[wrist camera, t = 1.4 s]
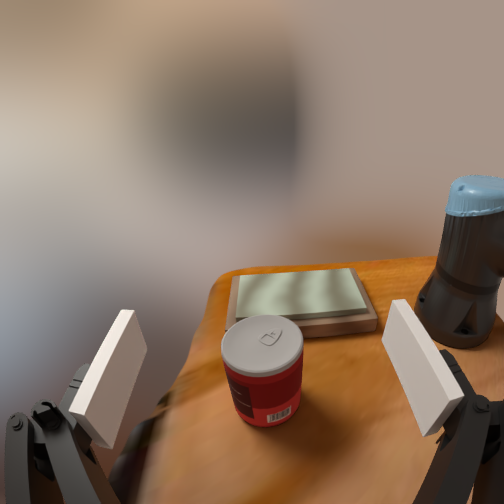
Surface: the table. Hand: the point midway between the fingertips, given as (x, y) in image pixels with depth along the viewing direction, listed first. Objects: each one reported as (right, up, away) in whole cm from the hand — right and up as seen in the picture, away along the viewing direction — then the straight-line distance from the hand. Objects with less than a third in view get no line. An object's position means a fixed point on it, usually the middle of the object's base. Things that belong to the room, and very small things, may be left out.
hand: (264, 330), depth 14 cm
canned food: (+1, -14, +18) cm, 23 cm away
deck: (+7, -5, +33) cm, 34 cm away
